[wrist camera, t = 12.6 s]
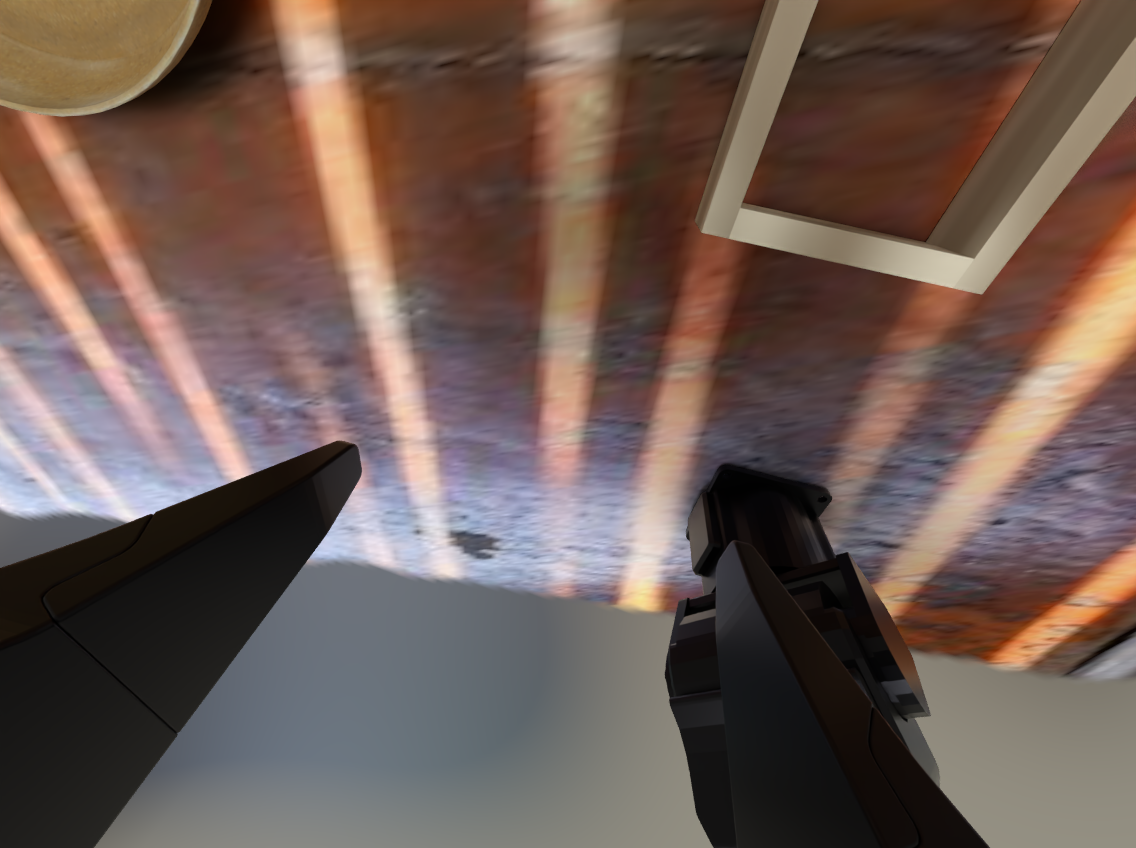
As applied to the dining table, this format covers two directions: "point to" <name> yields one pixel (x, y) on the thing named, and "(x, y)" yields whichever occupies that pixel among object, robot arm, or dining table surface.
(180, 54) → the plant saucer
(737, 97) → the rack
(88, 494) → the dining table surface
